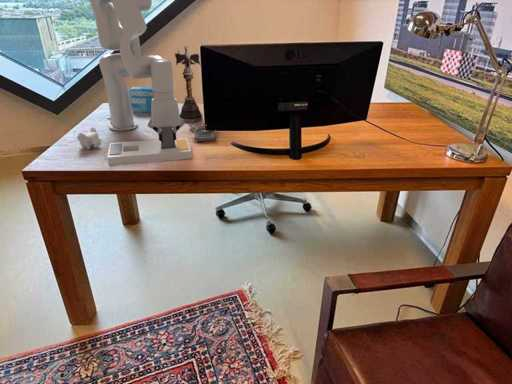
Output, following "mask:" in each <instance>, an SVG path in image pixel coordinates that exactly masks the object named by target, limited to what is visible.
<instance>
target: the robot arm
mask: <svg viewBox="0 0 512 384" xmlns="http://www.w3.org/2000/svg"><path fill="white" fill-rule="evenodd" d="M88 2H89V4H90V6H91V7H92V11H93V14H94V18H95V25H96V29H97V31H96V32H97V36H98V41H99V45H100V47H101V48H102V49H103V50H104V51H108V52H109V51H111V52H113V51H115V52H116V51H119V53H110V54H105V55H103V56H101V57H100V59H99V62H98V65H99V68H100V71H101V75H102V78H103V81H104V85H105V92H106V96H107V102H108V109H109V113H110V114H109V115H108V116H107V117H106V120H108V121H109V124H108V128H109V129H110V130H111V131H115V132H125V131H130V130H131V131H132V130H134V129H136V128H137V127H138V126H139V125H138V122H137V121H135V120H134V115H133V113H134V112H133V111H132V106H131V99H130V92H129V90H130V87H129V85H128V84H127V83H126V82H125V81H124V80H123V78H125V77H131V78H132V79H134V80H141V79H149V78H151V86H152V89H153V91H152V92H149V96H152V97H153V98H152V101H151V112H150V113H151V114H150V115H151V117H150V120H149V122H148V123H147V127H148V128H149V129H151V130H154V132H155V133H157V135H158V140H159V141H161V144H163V139H162V131H161V127H172V130H173V142H174V143H175V140H176V139H177V132H178V131H179V129H181V128H182V127H183V126H185V124H186V123H184V121H183V120H182V119H181V117H180V108H179V104H178V103H179V102H178V100H177V98H176V97H175V88H174V86H175V85H174V75H173V64H172V62H171V60H170V59H167V58H163V57H162V56H161V55H158V54H153V55H152V54H151V55H150V54H149V55H142V53H141V52H142V51H141V44H140V43H141V42H140V38H139V37H140V36H141V35H143V34H144V33H145V32H147V31H146V30H147V28H148V27H147V23H146V20H145V18H144V16H143V13H142V12H148V11H149V10H151V7H152V4H153V3H152V2H153V1H152V0H88Z"/></svg>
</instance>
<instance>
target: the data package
mask: <svg viewBox="0 0 512 384" xmlns="http://www.w3.org/2000/svg"><path fill="white" fill-rule="evenodd" d="M152 91H153V89H152V87H151V86H132V87H131V88H129V92H130V99H131V106H132V113H151V101H152V98H153V97H152V96H149V92H152Z"/></svg>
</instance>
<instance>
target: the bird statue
mask: <svg viewBox="0 0 512 384" xmlns="http://www.w3.org/2000/svg"><path fill="white" fill-rule="evenodd" d="M180 52H181V50H180V49H179V48H177V51H176V52H174V57H175V60H176V61H175V62H176V63H175V65H176V66H177V65H178V64H181V65H184V69H183V72H182V75H183V79H184V80H185V82H186V83H185V89H186V94H187V95H186V97H184V103H183V105H182V107H181V109H180V110H181V111H180V113H179V115H180V117H181V119H182V120H183V121H184V123H185V124H186V123H189V124H196V123H198V122H201V120H203V114H202V113H201V110H200V106H199V105H198V104H197V102H196V100H195V98H194V96H193V91H192V90H193V87H192V80H193V79H194V72H193V70H192V68H191V65H196V64H198V65H200V66H202V65H201V62H200V54H199V53H197V52H195V53H189V47H188V46H187V45H184V52H185V53H180Z"/></svg>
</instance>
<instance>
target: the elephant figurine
mask: <svg viewBox="0 0 512 384" xmlns="http://www.w3.org/2000/svg"><path fill="white" fill-rule="evenodd" d="M76 139H77V140H78V142H79V144H80V147H81V148H82V149H86V150H90V149H92V148H97V147H100V146H101V142H102V143H103V144H104V141H103V140H102V139H101V138H100V137H99V134H98V132H97V129H96V128H95V127H91V128H90V129H89V132H86V133H84V134H83V133H81V132H80V133H78V135H77V137H76Z"/></svg>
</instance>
